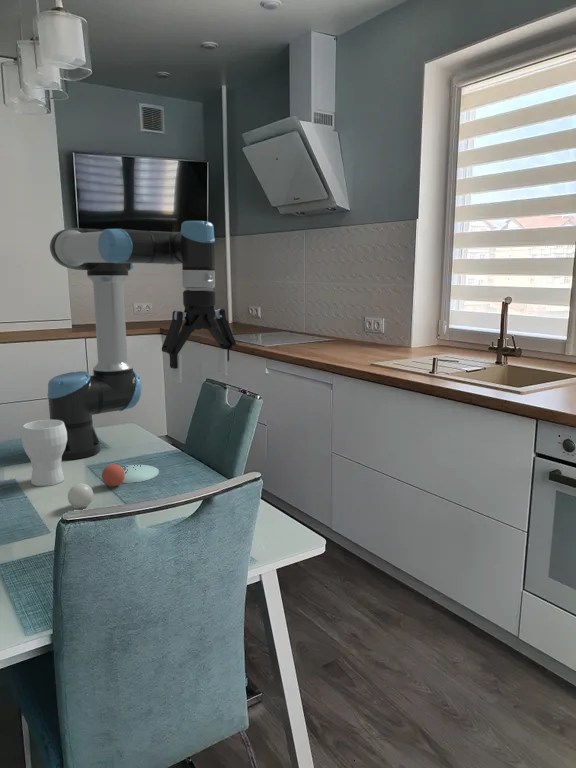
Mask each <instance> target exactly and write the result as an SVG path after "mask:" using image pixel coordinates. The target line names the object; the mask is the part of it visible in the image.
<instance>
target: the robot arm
mask: <svg viewBox="0 0 576 768" xmlns="http://www.w3.org/2000/svg"><path fill="white" fill-rule="evenodd" d="M180 225H181V228H180V231H161V230H158V231H157V230H138V229H137V230H136V229H124V228H106V229H103V228H82V227H70V228H69V227H68V228H65V229H62V230H59V231H58V232H55V234H54V235H53V236H52V238H51V239H50V244H49V250H50V254H51V256H52V258H53V259H54V261H55V262H56V263H57V264H59V265H60V266H62V267H64V268H67V269H71V270H77V271H86V273H87V278H89V280H90V281H92V283H93V285H92V286H93V300H94V301H93V302H94V317H95V331H96V332H95V334H96V350H97V352H96V353H97V364H95V366H94V367H92V371H93V372H92V374H93V375H90V373H89V372H88V371H71V372H66V373H62V374H58V375H56V376H54V377H52V378H50V380H48V383H47V398H48V410H49V420H60V421H63V422H64V425H65V428H66V431H67V443H66V447H65V450H64V452H63V455H62V459H61V461H62V460H63V461H64V460H66V461H68V460H69V461H70V460H78V459H85V458H89V457H92V456H94V455H97V454H98V453H99V452H100V451H101V442H100V440H99V437H98V435H97V432H96V429H95V428H94V424H93V416H95V415H99V414H105V413H111V412H112V413H113V412H122V411H125V410H128V409H129V410H130V409H132V408H134V407H135V406H136V405H138V403H139V401H140V399H141V396H142V380H141V379H140V378H141V377H140V375H139V373H138V372H137V371H135V370H134V368H133V367H134V366H133V365H132V364H130V363H129V361H128V349H127V348H128V347H127V346H128V345H127V327H126V311H125V309H126V307H125V288H124V282H125V281H126V280H127V278H128V277H129V271H131V270H133V268H134V267H135V264H159V265H161V264H162V265H163V264H164V265H182V266H181V267H182V269H181V270H182V271H181V272H182V273H181V274H182V276H181V277H182V288H184V290H183V291H182V303H183V306H184V310H183V311H182V310H181V311H180V310H173V312H172V317H171V323H170V326H169V327H168V328H169V329H168V331H167V334H166V336H165V338H164V341H163V342H162V343H163V344H162V346H161V352H162V353H165V354H166V353H167V354H168V356H169V368H170V369H172V382H174V383H177V384H178V383H179V384H181V383H183V363H182V361H183V358H182V357H183V355H182V354H179V353H180V352H181V350H182V349H183V347H184V346H185V344H186V343H187V341H188V339H189V337H190V336H191V334H192V333H193V332H194V331H195V330H201V329H202V330H207V331H208V332H209V333H210V335H211V336H212V337H213V339H214V340H215V342H216V343H217V344H218V346H219V347H220V348H217V369H218V373H217V374H218V375H220V376H224V377H226V376H228V375H229V374H228V371H229V370H228V369H229V368H228V362H230V350H232V349H233V347H234V346H236V344H237V343H236V340H235V337H234V335H233V332H232V330H231V328H230V324H229V322H228V320H227V318H226V315H227V314H226V310H225V309H224V308H222V309H221V308H215V306H216V291H215V290H213V289H214V288H215V287H216V274H215V273H216V272H215V271H216V269H215V267H216V266H215V265H216V263H215V262H216V261H215V260H216V258H215V255H216V254H215V251H216V249H215V247H216V246H215V241H216V238H215V230H214V224H213V223H212V222H210V221H205V220H185V221H183V222H182V223H181V224H180ZM214 318H215V321H214ZM183 321H184V323H183ZM218 327H219V328H218Z"/></svg>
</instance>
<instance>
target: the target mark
mask: <svg viewBox="0 0 576 768" xmlns="http://www.w3.org/2000/svg"><path fill="white" fill-rule="evenodd" d="M134 465H135V466H134ZM137 465H138V466H137ZM140 465H141V467H140ZM124 466H125V467H126V466H128V467H126V470H125V471H124V472H126V471H127V469H128V471H127V473H126V474H125V477H124V480H123V482H122V483H121V484H133V483H132V482H137V483H142V481H143V482H146V480H147V481H149V480H152V479H154V478H156V477H158V475H159V473H160V470H159V469H158V468H157V467H155V466H152V465H148V464H147V465H146V464H129V465H124ZM133 467H134V468H133ZM123 468H124V467H123ZM135 469H136V470H135Z"/></svg>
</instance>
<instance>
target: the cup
mask: <svg viewBox="0 0 576 768" xmlns="http://www.w3.org/2000/svg"><path fill="white" fill-rule="evenodd" d="M21 430H22V432H21V434H20V437H21V445H22V447H23V450H24V452H25V454H26V455H27V457H28V459H29V460H30V464H31V468H32V471H31V481H30V482H31V485H33V486H37V487H46V486H47V487H49V486H54V485H57V484H60V483H61V482H63V481H65V476H64V472H63V468H62V460H61V459H62V455H63V452H64V450H65V447H66V443H67V431H66V428H65V425H64V422H63V421H60V420H50V419H40V420H33V421H31V422H30V421H29V422H27V423H25V424H23V426H22V429H21Z"/></svg>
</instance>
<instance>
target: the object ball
mask: <svg viewBox="0 0 576 768" xmlns="http://www.w3.org/2000/svg"><path fill="white" fill-rule="evenodd" d="M121 466H122V465H121ZM121 466H120V465H119V464H114V463H113V464H109V465H106V467H104V469H103V470H102V472H101V480H102V482H103V483H104V484H105V485H106V486H108V487H113V488H114V487H118V486H119V485H122V484H123V483H122V482H123V480H124V477H125V472H124V470H123V468H122V467H121Z"/></svg>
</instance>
